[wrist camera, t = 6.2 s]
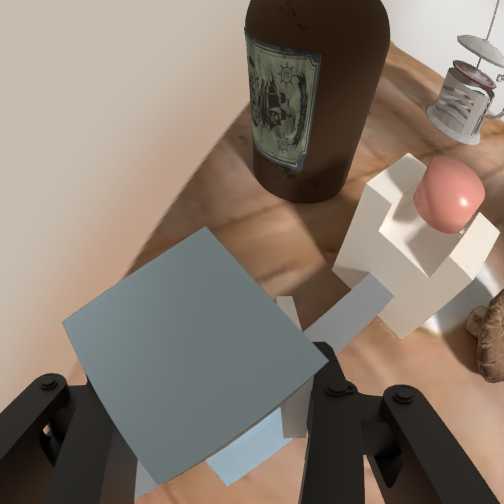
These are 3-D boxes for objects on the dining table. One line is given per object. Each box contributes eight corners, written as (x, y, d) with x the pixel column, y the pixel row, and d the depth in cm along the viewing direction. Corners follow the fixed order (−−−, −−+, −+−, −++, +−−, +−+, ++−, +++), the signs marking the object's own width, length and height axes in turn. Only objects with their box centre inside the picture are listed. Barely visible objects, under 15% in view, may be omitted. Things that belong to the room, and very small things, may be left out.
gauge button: (430, 176, 17) (444, 147, 15) (472, 214, 16) (491, 186, 14) (402, 202, 16) (418, 170, 14) (450, 245, 15) (472, 216, 12)
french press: (448, 103, 42) (487, -22, 20) (497, 148, 36) (555, 17, 15) (413, 108, 39) (453, -40, 18) (468, 158, 34) (535, 0, 13)
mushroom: (457, 280, 21) (525, 284, 15) (494, 285, 24) (547, 288, 18) (440, 379, 20) (503, 398, 15) (481, 366, 23) (532, 378, 18)
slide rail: (368, 238, 27) (408, 152, 18) (433, 300, 24) (500, 232, 15) (57, 463, 16) (-35, 459, 8) (117, 548, 13) (45, 592, 5)
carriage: (243, 348, 20) (221, 134, 6) (307, 420, 18) (473, 366, 4) (170, 400, 18) (-21, 290, 4) (231, 477, 16) (157, 614, 2)
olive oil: (300, 126, 35) (318, -82, 14) (371, 177, 31) (434, -60, 10) (226, 163, 32) (210, -91, 11) (299, 228, 27) (344, -100, 6)
